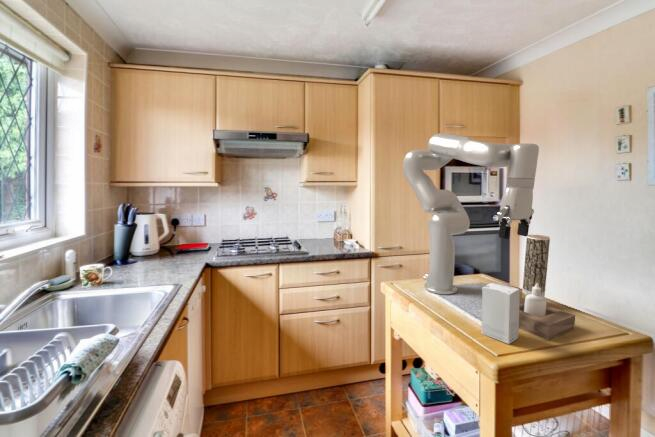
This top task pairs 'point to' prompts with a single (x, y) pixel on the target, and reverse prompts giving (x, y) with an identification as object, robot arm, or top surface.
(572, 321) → the dropper stand
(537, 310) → the eye dropper bottle
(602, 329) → the top surface
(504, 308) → the skincare box
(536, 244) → the bark textured log
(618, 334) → the top surface
